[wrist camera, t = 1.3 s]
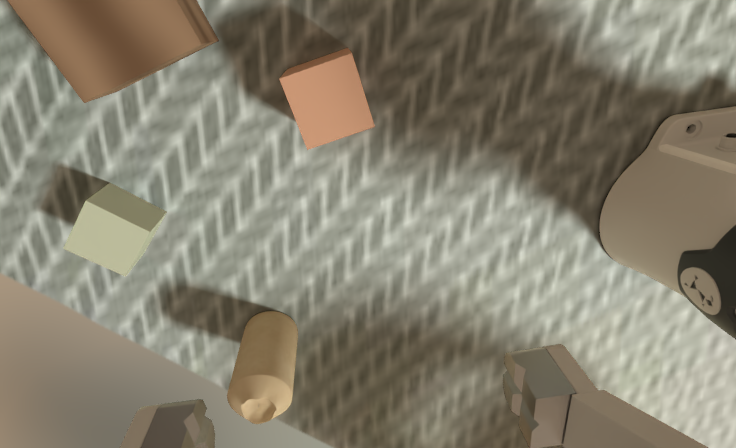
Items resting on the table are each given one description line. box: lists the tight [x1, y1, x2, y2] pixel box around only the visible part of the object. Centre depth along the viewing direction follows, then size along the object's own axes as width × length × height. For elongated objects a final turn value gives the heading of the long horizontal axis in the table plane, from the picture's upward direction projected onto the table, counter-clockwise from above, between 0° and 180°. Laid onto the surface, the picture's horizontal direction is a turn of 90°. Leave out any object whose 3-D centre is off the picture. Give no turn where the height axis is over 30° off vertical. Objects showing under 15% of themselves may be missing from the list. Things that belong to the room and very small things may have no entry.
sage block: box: [63, 183, 167, 276], centre depth 35 cm, size 5×5×4 cm
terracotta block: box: [279, 48, 375, 150], centre depth 30 cm, size 5×5×6 cm
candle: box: [227, 311, 298, 424], centre depth 39 cm, size 6×6×10 cm
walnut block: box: [8, 0, 219, 103], centre depth 27 cm, size 9×9×5 cm
